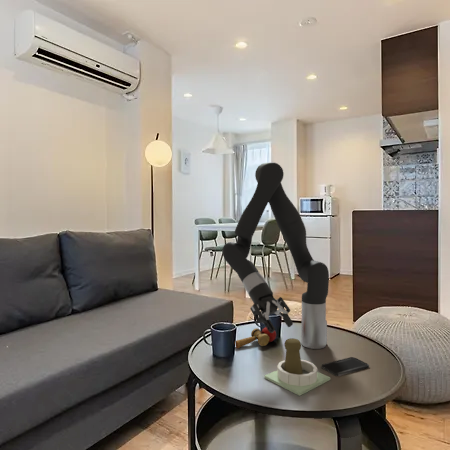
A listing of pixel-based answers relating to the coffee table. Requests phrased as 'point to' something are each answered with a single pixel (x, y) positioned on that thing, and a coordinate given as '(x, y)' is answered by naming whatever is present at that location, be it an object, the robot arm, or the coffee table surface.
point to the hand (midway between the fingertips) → (282, 328)
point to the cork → (293, 356)
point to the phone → (345, 366)
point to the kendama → (257, 337)
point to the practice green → (298, 378)
